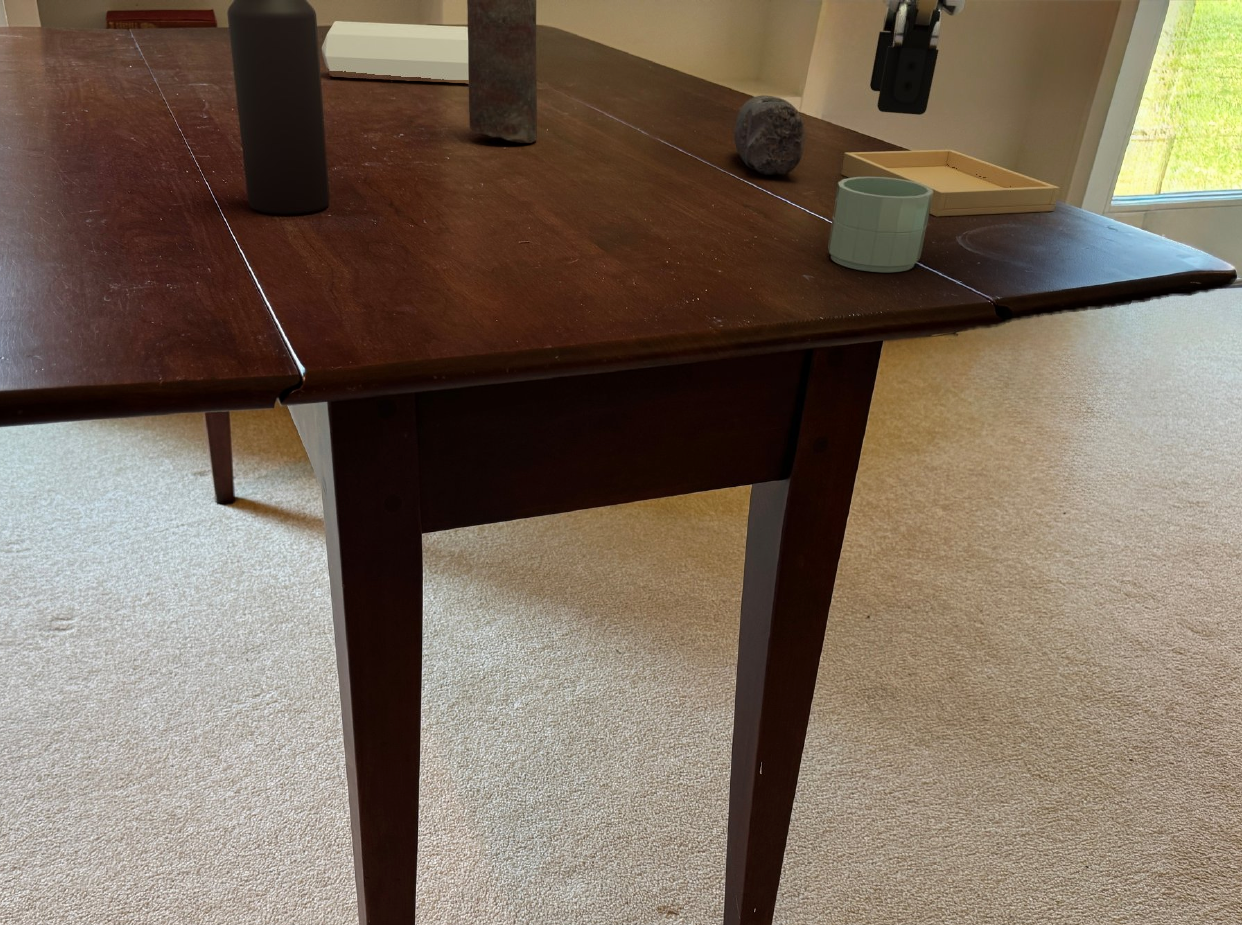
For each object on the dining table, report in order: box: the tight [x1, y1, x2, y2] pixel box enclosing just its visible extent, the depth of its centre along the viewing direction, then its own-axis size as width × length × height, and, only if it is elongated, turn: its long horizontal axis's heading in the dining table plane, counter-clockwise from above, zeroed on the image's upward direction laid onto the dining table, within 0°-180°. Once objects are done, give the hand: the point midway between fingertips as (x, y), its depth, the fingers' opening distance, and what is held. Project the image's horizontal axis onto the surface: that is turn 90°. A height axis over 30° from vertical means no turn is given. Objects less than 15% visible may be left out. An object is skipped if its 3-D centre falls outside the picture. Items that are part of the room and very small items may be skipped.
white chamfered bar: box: [321, 20, 469, 80], centre depth 158 cm, size 7×7×24 cm
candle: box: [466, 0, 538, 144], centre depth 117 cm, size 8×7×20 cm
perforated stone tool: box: [733, 94, 806, 176], centre depth 112 cm, size 15×5×7 cm, turn 3°
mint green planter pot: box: [827, 177, 933, 273], centre depth 84 cm, size 7×7×6 cm
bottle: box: [227, 0, 331, 216], centre depth 89 cm, size 7×7×20 cm
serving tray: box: [841, 149, 1060, 218], centre depth 106 cm, size 12×17×2 cm
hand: (895, 101), depth 79 cm, fingers open, 9 cm apart
